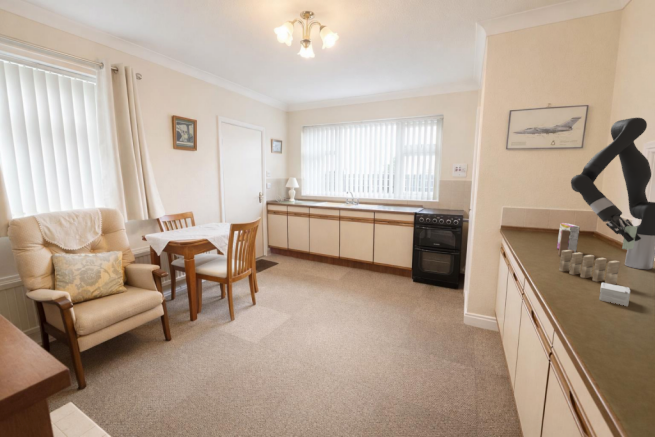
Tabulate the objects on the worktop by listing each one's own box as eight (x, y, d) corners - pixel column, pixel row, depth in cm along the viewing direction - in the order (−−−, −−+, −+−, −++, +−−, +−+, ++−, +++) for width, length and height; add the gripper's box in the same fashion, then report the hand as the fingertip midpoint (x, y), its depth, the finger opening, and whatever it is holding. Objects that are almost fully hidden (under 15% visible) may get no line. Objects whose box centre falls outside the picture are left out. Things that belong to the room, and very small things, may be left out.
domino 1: (558, 270, 140) (561, 250, 139) (565, 269, 142) (568, 249, 140) (562, 271, 139) (565, 251, 137) (569, 270, 141) (572, 250, 139)
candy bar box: (556, 248, 181) (559, 222, 178) (565, 248, 180) (568, 223, 177) (566, 253, 170) (570, 226, 168) (576, 253, 169) (580, 226, 167)
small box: (599, 294, 114) (601, 281, 113) (628, 300, 108) (630, 287, 108) (598, 300, 109) (600, 287, 108) (628, 307, 103) (630, 293, 102)
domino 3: (580, 276, 132) (583, 255, 130) (586, 275, 134) (590, 254, 132) (584, 278, 131) (587, 256, 129) (591, 276, 132) (594, 255, 131)
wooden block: (558, 256, 165) (562, 230, 162) (558, 254, 167) (561, 229, 165) (573, 257, 161) (577, 231, 159) (572, 256, 164) (576, 230, 162)
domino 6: (621, 248, 128) (625, 226, 126) (628, 247, 130) (632, 225, 128) (626, 249, 126) (631, 227, 125) (633, 248, 128) (637, 226, 126)
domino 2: (569, 273, 136) (572, 253, 135) (575, 272, 138) (578, 252, 136) (573, 274, 135) (576, 254, 133) (580, 273, 136) (583, 253, 135)
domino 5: (604, 284, 124) (608, 261, 122) (611, 282, 125) (615, 260, 124) (609, 285, 122) (613, 262, 121) (616, 284, 124) (620, 261, 122)
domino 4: (592, 280, 128) (595, 258, 126) (598, 279, 130) (602, 257, 128) (596, 281, 126) (600, 259, 125) (603, 280, 128) (607, 258, 126)
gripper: (604, 205, 129) (635, 237, 120) (622, 204, 134) (653, 234, 125) (588, 215, 135) (616, 246, 126) (606, 213, 140) (635, 243, 131)
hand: (634, 240), depth 126 cm, fingers closed on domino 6, 5 cm apart
